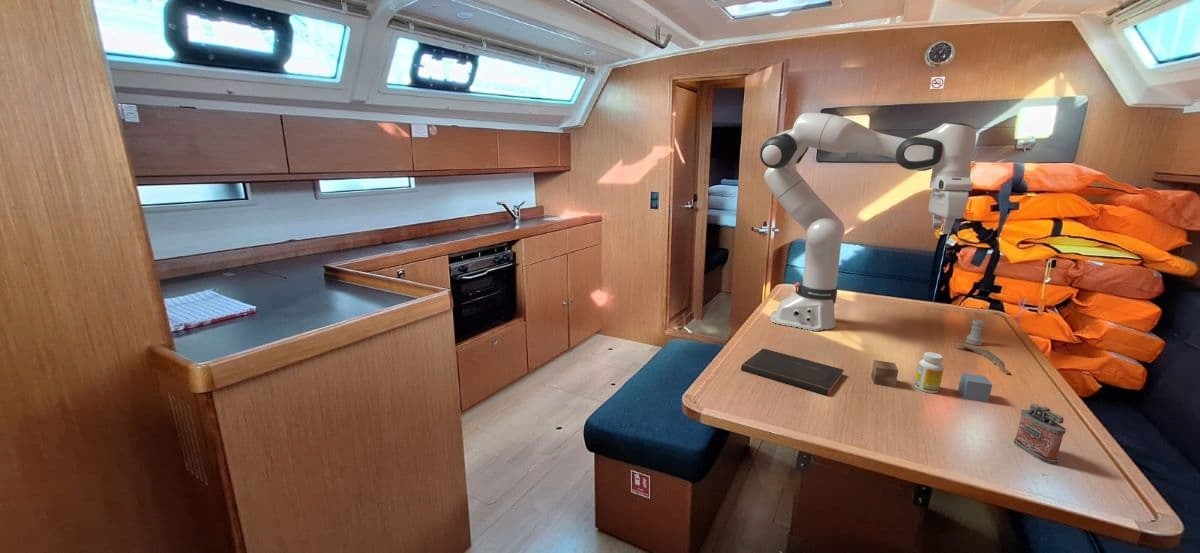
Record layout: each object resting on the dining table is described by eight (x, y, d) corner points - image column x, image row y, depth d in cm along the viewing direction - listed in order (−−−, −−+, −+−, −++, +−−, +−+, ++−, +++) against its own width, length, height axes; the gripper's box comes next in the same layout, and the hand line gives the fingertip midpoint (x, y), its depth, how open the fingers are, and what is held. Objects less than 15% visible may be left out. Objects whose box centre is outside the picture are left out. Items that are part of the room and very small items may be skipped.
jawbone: (976, 349, 153) (978, 343, 152) (1037, 379, 133) (1039, 372, 132) (950, 348, 152) (952, 342, 151) (1008, 377, 132) (1010, 370, 132)
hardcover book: (762, 355, 146) (762, 348, 145) (843, 377, 132) (844, 369, 131) (740, 372, 134) (741, 364, 133) (826, 398, 120) (827, 390, 119)
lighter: (1008, 441, 101) (1019, 398, 99) (1023, 440, 101) (1034, 398, 99) (1046, 464, 93) (1058, 419, 91) (1062, 464, 93) (1074, 418, 91)
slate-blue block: (963, 399, 119) (967, 380, 118) (957, 390, 123) (961, 372, 122) (988, 403, 117) (992, 384, 116) (981, 394, 122) (985, 376, 120)
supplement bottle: (909, 386, 125) (916, 352, 123) (922, 382, 127) (928, 349, 125) (931, 395, 120) (938, 360, 118) (943, 391, 123) (950, 356, 120)
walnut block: (873, 384, 126) (876, 367, 125) (871, 376, 131) (873, 360, 130) (895, 387, 124) (898, 370, 123) (891, 379, 129) (894, 363, 128)
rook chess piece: (975, 341, 157) (980, 318, 155) (985, 346, 153) (990, 322, 151) (961, 340, 158) (966, 317, 156) (970, 345, 153) (975, 322, 151)
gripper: (926, 181, 143) (919, 226, 147) (946, 183, 125) (937, 235, 128) (951, 181, 141) (943, 227, 144) (975, 184, 123) (965, 236, 126)
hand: (941, 231), depth 136 cm, fingers open, 8 cm apart
